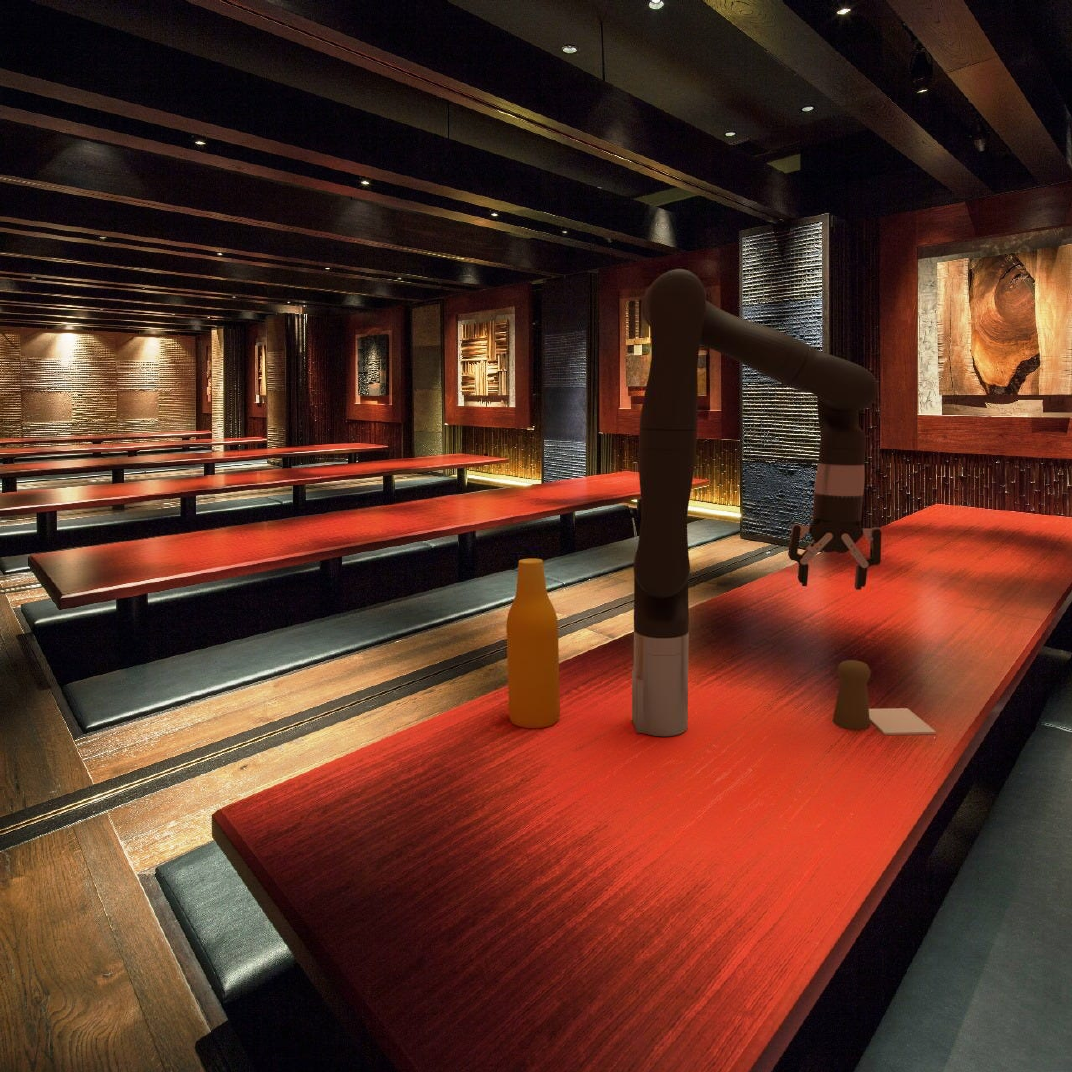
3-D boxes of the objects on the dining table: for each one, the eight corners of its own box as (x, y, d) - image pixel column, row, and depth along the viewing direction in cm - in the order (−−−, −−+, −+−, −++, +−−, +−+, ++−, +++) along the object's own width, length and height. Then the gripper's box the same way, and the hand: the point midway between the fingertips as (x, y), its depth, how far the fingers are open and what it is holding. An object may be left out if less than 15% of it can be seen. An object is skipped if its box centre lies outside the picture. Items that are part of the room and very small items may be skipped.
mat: (884, 734, 125) (884, 732, 125) (859, 711, 134) (859, 708, 134) (935, 734, 124) (936, 731, 124) (907, 710, 134) (907, 708, 134)
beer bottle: (504, 728, 131) (498, 565, 126) (514, 707, 140) (509, 555, 135) (556, 730, 129) (553, 566, 124) (563, 709, 138) (560, 555, 133)
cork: (838, 713, 134) (841, 654, 132) (874, 721, 130) (878, 660, 128) (827, 724, 129) (830, 663, 127) (864, 733, 125) (867, 670, 124)
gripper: (795, 492, 121) (788, 589, 124) (890, 495, 118) (881, 595, 121) (791, 487, 128) (784, 579, 131) (880, 490, 125) (871, 584, 128)
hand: (830, 587), depth 126 cm, fingers open, 8 cm apart
